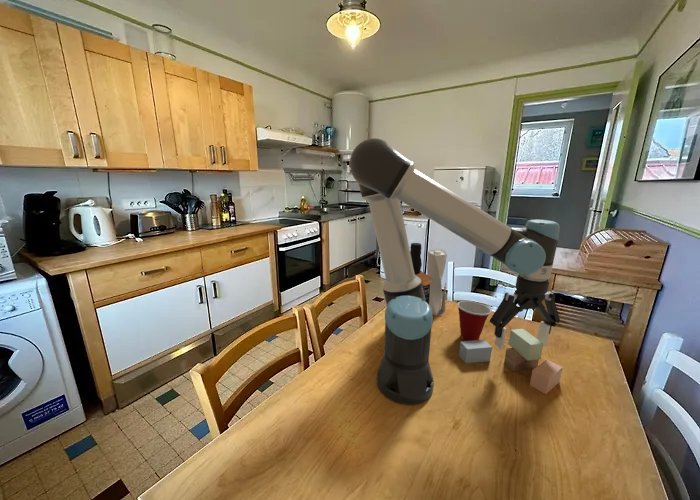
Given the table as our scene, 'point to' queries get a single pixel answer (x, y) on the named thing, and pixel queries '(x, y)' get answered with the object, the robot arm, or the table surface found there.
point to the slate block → (475, 351)
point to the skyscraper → (436, 281)
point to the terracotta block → (546, 376)
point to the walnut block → (518, 361)
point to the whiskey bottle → (417, 265)
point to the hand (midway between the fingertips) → (520, 345)
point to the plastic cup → (472, 319)
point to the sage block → (525, 344)
